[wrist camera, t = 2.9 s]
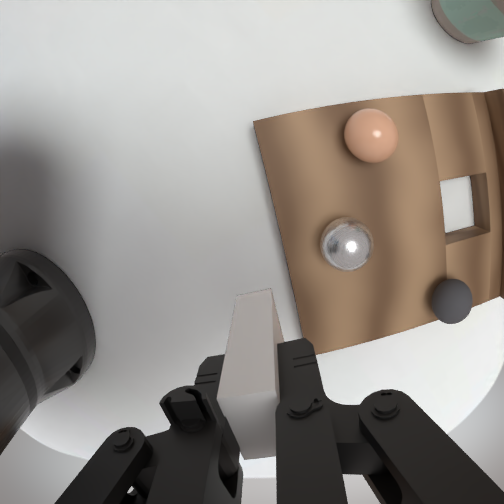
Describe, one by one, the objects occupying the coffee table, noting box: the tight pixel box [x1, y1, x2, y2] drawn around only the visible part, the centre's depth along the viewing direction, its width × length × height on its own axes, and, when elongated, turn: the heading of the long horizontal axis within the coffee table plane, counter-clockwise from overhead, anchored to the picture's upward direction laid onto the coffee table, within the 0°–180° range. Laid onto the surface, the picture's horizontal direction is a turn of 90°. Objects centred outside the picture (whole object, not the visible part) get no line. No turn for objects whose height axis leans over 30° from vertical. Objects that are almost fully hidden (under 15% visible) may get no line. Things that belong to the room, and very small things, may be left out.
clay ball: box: [344, 108, 399, 163], centre depth 18 cm, size 4×4×4 cm
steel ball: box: [320, 217, 374, 272], centre depth 20 cm, size 4×4×4 cm
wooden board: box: [253, 89, 504, 355], centre depth 21 cm, size 20×18×5 cm
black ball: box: [431, 279, 473, 324], centre depth 21 cm, size 4×4×4 cm
